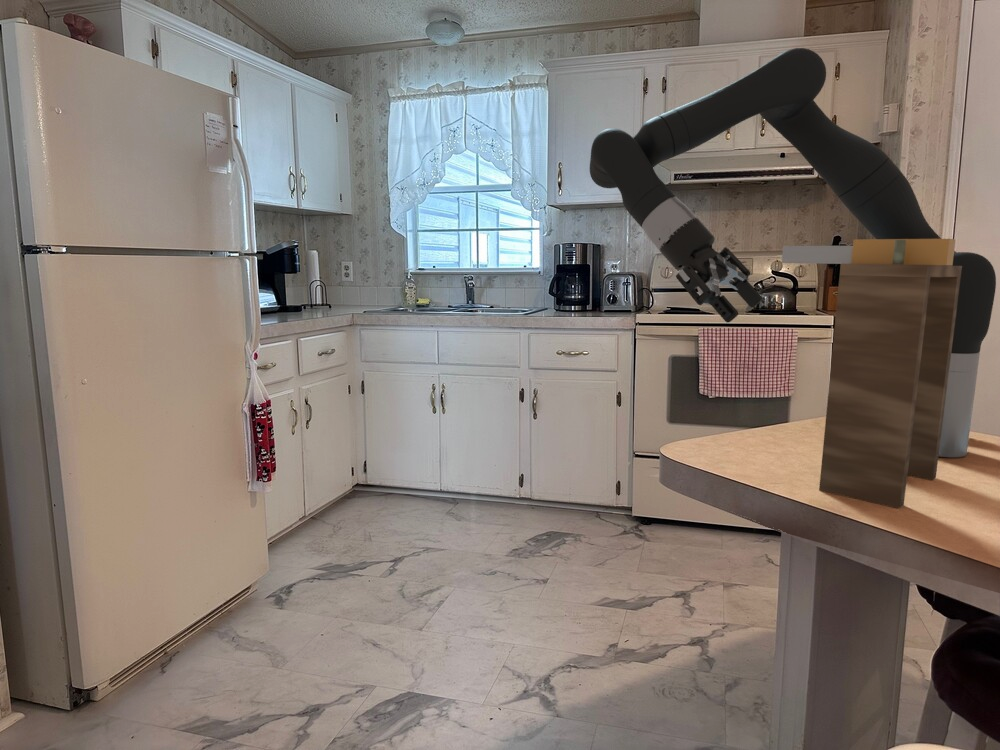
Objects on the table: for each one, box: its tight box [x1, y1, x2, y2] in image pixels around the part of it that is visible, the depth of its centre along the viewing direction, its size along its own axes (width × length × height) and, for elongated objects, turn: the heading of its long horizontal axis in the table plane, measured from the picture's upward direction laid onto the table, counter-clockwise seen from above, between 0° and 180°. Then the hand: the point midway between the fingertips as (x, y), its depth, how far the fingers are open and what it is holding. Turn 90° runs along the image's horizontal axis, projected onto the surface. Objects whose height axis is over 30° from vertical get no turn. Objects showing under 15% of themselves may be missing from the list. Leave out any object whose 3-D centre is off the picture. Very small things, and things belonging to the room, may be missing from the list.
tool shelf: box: [818, 240, 962, 510], centre depth 96 cm, size 19×10×34 cm, turn 136°
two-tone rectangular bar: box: [781, 238, 956, 265], centre depth 93 cm, size 3×20×3 cm, turn 46°
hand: (745, 311), depth 106 cm, fingers open, 8 cm apart
